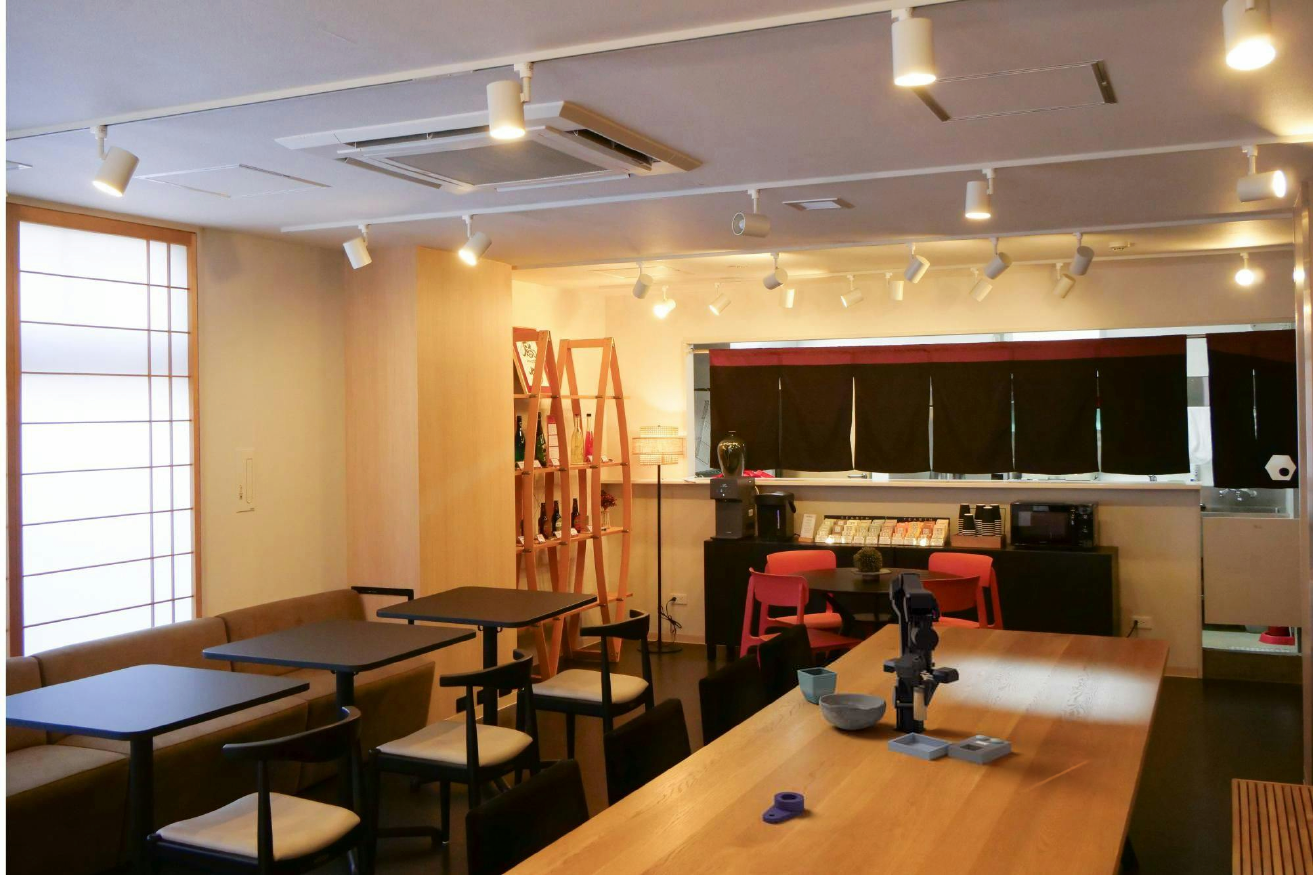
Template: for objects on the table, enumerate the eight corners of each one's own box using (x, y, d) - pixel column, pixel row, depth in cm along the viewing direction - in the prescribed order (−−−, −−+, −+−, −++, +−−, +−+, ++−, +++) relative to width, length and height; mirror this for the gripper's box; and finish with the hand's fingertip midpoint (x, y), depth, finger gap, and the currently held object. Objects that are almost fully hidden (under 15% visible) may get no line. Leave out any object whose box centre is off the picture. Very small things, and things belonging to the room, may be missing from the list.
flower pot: (796, 699, 317) (796, 669, 317) (821, 696, 321) (821, 666, 321) (813, 706, 309) (812, 675, 309) (838, 703, 313) (838, 672, 313)
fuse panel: (948, 758, 260) (948, 743, 260) (978, 746, 269) (978, 732, 269) (981, 766, 253) (981, 752, 253) (1010, 754, 263) (1010, 740, 263)
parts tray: (887, 751, 266) (887, 741, 266) (912, 742, 273) (912, 732, 273) (929, 762, 257) (929, 751, 257) (953, 752, 264) (953, 742, 264)
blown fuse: (910, 718, 265) (910, 686, 265) (918, 715, 267) (918, 684, 267) (922, 721, 263) (922, 689, 262) (930, 718, 265) (929, 686, 265)
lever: (784, 804, 229) (784, 789, 229) (809, 810, 226) (809, 795, 226) (753, 820, 220) (753, 805, 220) (779, 827, 216) (779, 812, 216)
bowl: (882, 719, 295) (882, 690, 295) (890, 737, 277) (890, 707, 277) (817, 718, 297) (817, 689, 297) (820, 736, 279) (820, 706, 279)
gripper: (870, 641, 266) (870, 703, 266) (934, 653, 253) (935, 718, 253) (895, 635, 274) (896, 695, 274) (960, 646, 260) (960, 709, 260)
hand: (920, 704), depth 265 cm, fingers closed on blown fuse, 3 cm apart
